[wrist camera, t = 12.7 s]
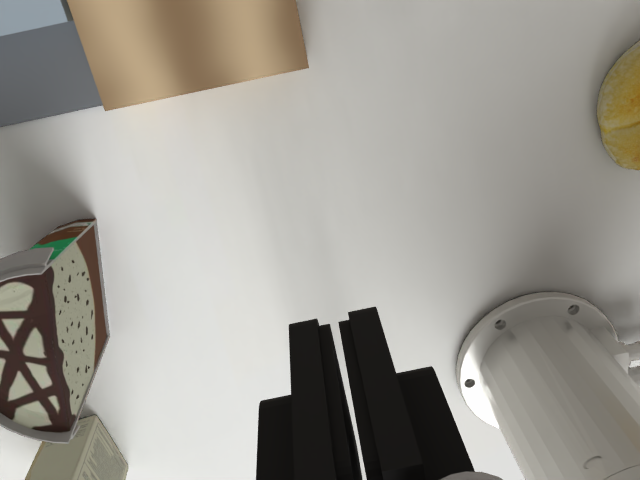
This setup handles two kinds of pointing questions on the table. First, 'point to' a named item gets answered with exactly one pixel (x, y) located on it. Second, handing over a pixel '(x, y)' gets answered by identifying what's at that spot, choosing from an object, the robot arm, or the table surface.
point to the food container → (51, 332)
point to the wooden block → (185, 45)
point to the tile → (32, 14)
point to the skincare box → (80, 456)
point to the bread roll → (622, 110)
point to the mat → (44, 74)
